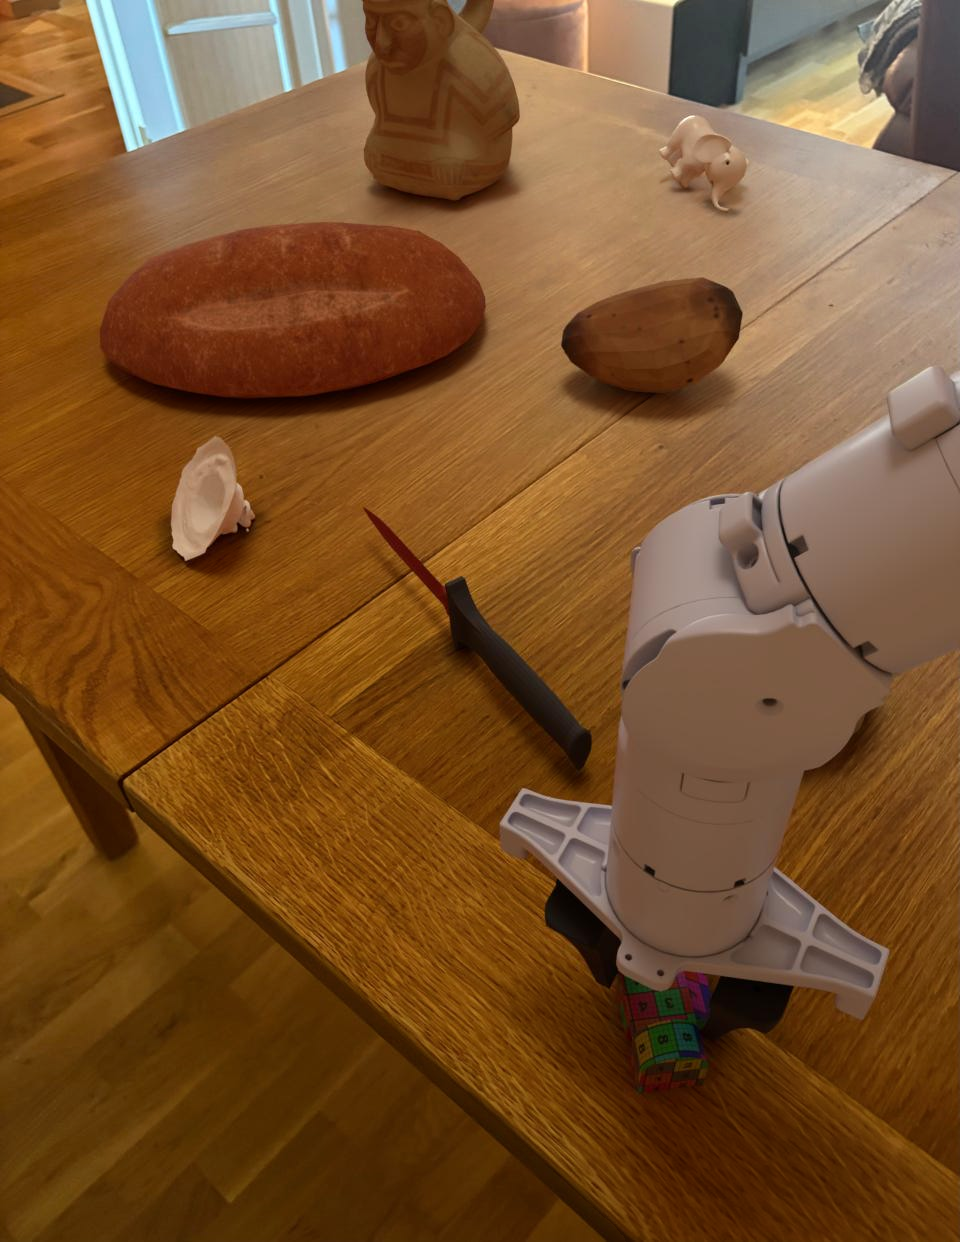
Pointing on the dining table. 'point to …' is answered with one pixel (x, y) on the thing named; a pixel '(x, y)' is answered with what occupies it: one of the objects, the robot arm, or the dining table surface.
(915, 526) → the robot arm
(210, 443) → the seashell
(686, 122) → the elephant figurine
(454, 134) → the ceramic vessel
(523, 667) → the knife
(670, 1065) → the block
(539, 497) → the dining table surface
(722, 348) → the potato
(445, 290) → the bread
